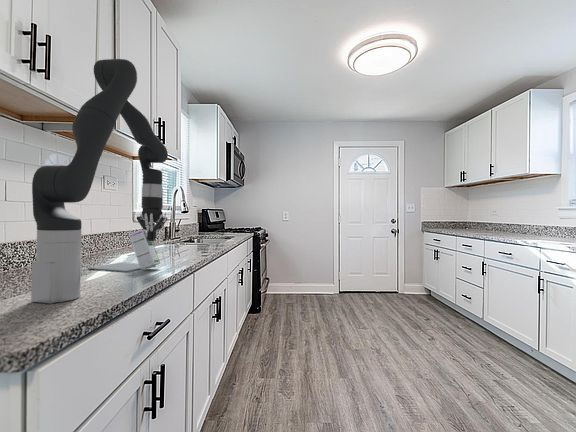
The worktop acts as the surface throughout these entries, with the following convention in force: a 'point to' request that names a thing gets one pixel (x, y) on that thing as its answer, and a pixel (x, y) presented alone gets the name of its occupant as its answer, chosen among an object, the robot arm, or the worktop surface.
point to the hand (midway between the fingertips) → (151, 240)
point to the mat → (119, 267)
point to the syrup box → (144, 249)
